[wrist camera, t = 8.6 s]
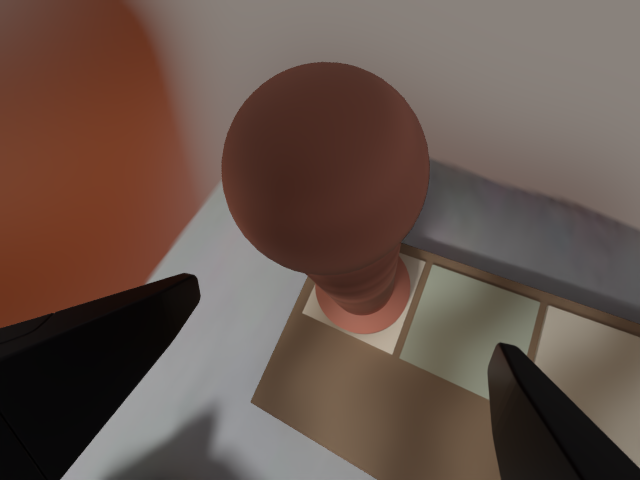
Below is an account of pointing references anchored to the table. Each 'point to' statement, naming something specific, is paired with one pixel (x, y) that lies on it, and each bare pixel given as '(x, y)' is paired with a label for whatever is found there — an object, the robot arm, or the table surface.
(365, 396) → the game board
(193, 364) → the table surface
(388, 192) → the pawn
